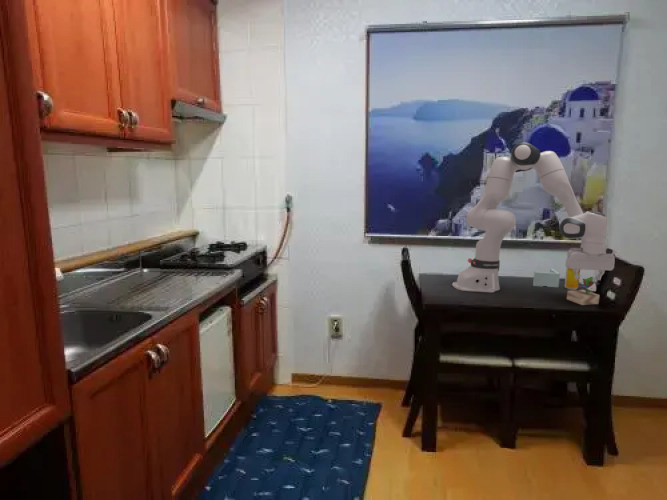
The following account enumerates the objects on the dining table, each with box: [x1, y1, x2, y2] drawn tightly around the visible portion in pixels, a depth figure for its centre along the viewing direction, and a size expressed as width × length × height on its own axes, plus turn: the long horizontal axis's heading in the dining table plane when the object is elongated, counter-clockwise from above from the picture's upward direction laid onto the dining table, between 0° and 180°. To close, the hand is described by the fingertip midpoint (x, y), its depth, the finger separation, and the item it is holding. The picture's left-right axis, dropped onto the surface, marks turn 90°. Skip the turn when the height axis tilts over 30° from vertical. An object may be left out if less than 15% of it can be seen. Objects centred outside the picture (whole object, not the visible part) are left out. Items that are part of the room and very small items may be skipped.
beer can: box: [564, 267, 581, 291], centre depth 237 cm, size 6×6×15 cm
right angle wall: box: [532, 268, 561, 288], centre depth 246 cm, size 12×12×8 cm
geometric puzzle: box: [579, 276, 600, 293], centre depth 212 cm, size 7×7×8 cm
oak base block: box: [566, 289, 600, 306], centre depth 214 cm, size 9×9×4 cm
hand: (587, 279), depth 211 cm, fingers open, 8 cm apart
